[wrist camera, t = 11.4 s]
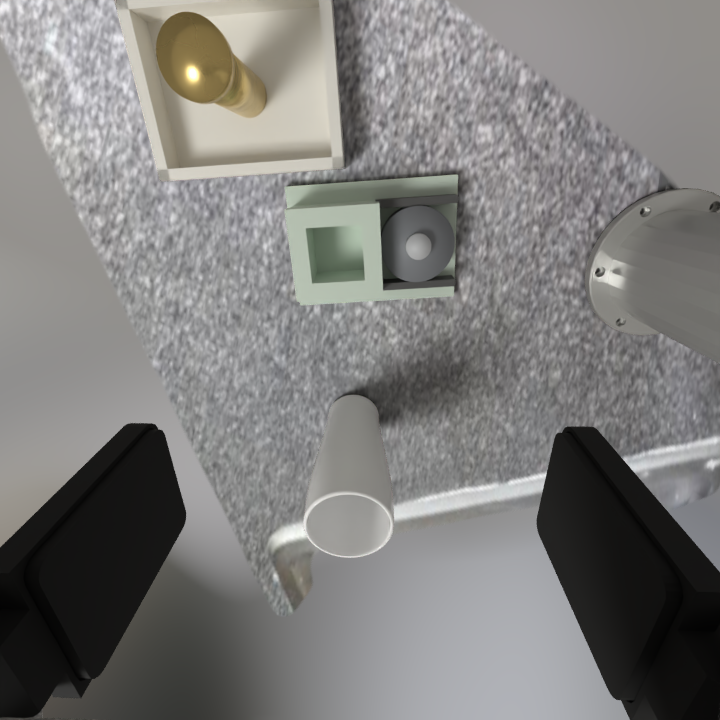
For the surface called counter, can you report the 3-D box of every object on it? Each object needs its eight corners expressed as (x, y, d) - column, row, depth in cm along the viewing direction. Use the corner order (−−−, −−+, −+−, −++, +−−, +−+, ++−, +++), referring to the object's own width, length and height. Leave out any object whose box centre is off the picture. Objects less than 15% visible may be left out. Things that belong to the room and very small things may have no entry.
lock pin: (267, 61, 29) (221, 8, 20) (275, 122, 30) (236, 99, 21) (216, 66, 29) (146, 15, 20) (227, 125, 31) (167, 104, 21)
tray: (332, -6, 28) (329, -26, 25) (345, 168, 32) (343, 168, 30) (137, 11, 28) (112, -6, 26) (176, 181, 33) (160, 181, 30)
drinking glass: (350, 373, 40) (343, 475, 27) (398, 412, 42) (415, 524, 28) (309, 415, 42) (282, 529, 29) (356, 450, 44) (352, 572, 31)
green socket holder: (456, 174, 32) (470, 174, 28) (452, 293, 37) (463, 309, 32) (286, 186, 33) (274, 188, 29) (301, 302, 37) (293, 319, 33)
